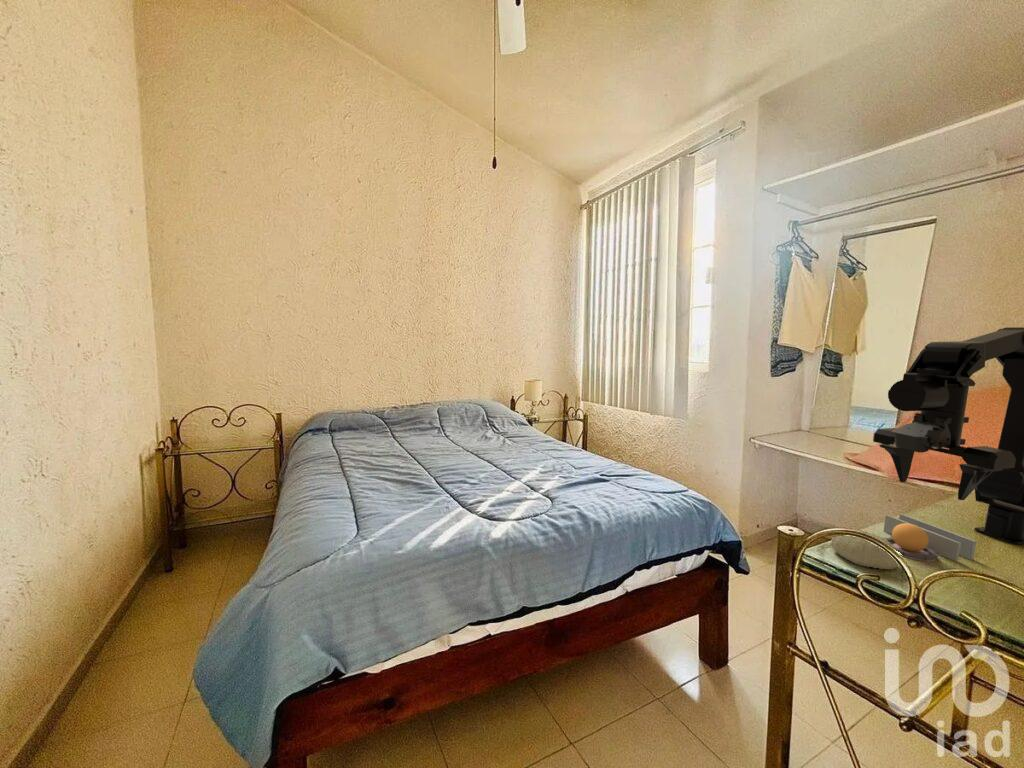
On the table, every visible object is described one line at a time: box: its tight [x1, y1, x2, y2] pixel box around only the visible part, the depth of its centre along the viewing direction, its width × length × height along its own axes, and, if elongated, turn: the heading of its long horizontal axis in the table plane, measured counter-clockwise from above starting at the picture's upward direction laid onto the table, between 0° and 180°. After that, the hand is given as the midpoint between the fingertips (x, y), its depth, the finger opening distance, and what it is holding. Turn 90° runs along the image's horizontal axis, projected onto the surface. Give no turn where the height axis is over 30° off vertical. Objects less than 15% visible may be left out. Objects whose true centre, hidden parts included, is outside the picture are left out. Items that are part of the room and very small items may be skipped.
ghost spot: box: [884, 536, 938, 563], centre depth 79 cm, size 8×8×1 cm
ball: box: [891, 523, 929, 551], centre depth 79 cm, size 5×5×5 cm
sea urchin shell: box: [830, 528, 899, 571], centre depth 75 cm, size 9×8×8 cm
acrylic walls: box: [883, 513, 978, 562], centre depth 82 cm, size 5×12×4 cm, turn 14°
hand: (930, 490), depth 80 cm, fingers open, 9 cm apart
